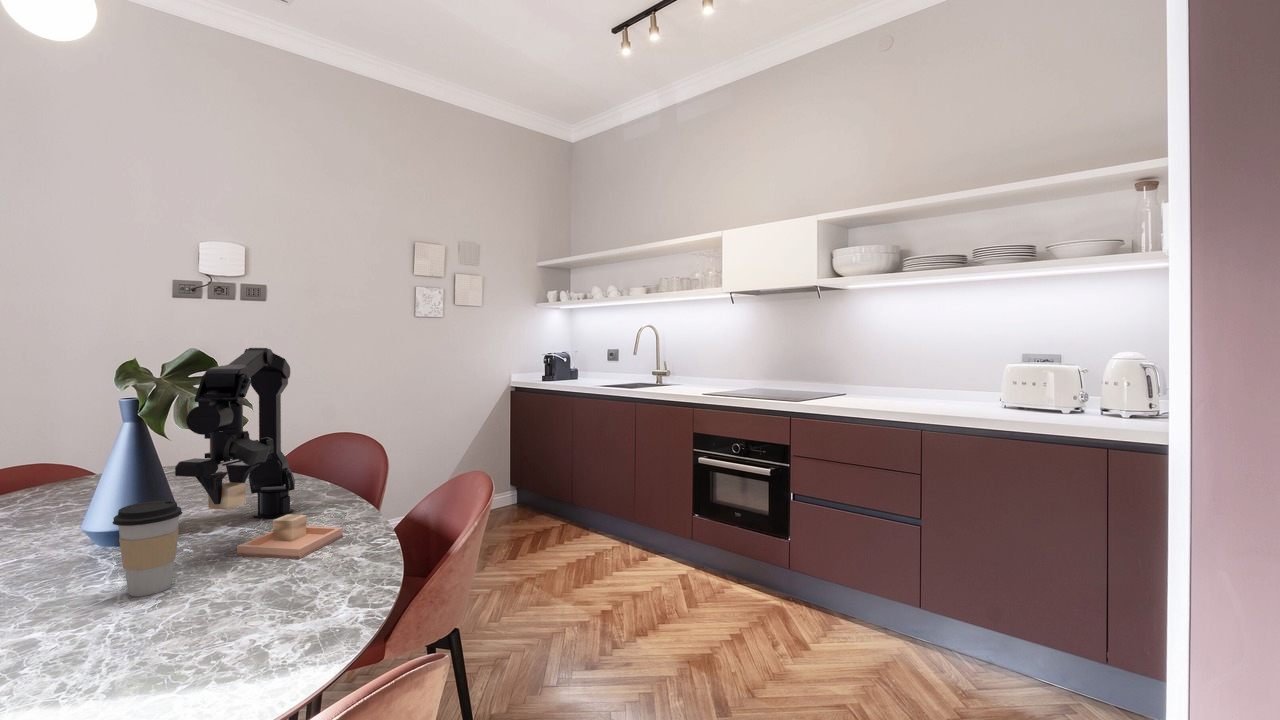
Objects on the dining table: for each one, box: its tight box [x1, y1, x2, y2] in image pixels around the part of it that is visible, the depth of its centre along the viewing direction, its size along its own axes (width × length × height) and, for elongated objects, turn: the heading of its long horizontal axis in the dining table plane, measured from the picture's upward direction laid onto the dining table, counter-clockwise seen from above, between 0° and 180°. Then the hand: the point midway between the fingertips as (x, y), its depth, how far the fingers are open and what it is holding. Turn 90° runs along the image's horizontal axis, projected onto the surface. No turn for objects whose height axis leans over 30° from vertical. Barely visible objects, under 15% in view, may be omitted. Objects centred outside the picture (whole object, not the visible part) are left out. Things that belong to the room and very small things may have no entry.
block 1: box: [207, 481, 247, 511], centre depth 121 cm, size 4×4×4 cm
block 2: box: [272, 513, 307, 541], centre depth 128 cm, size 4×4×4 cm
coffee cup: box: [112, 500, 183, 597], centre depth 102 cm, size 9×9×15 cm
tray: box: [236, 525, 344, 560], centre depth 125 cm, size 14×14×2 cm
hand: (227, 501), depth 121 cm, fingers closed on block 1, 4 cm apart
